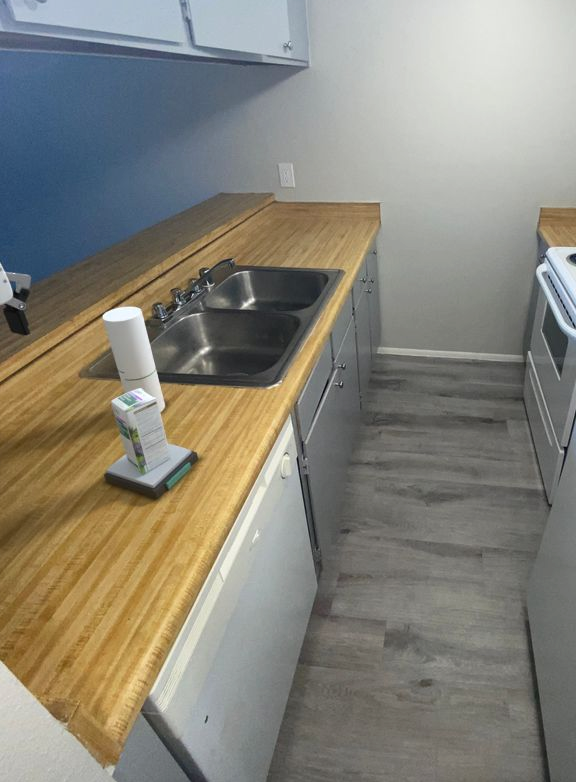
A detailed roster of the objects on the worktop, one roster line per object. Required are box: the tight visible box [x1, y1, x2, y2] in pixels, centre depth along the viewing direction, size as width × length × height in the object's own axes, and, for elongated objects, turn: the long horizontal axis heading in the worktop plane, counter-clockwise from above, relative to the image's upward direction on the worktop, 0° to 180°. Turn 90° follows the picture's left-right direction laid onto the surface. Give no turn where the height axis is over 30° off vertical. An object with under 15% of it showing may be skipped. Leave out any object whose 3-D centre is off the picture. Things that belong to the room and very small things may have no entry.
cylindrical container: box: [102, 306, 166, 413], centre depth 104 cm, size 7×7×25 cm
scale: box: [103, 442, 199, 500], centre depth 92 cm, size 12×11×3 cm
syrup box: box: [110, 388, 171, 474], centre depth 88 cm, size 6×6×14 cm
